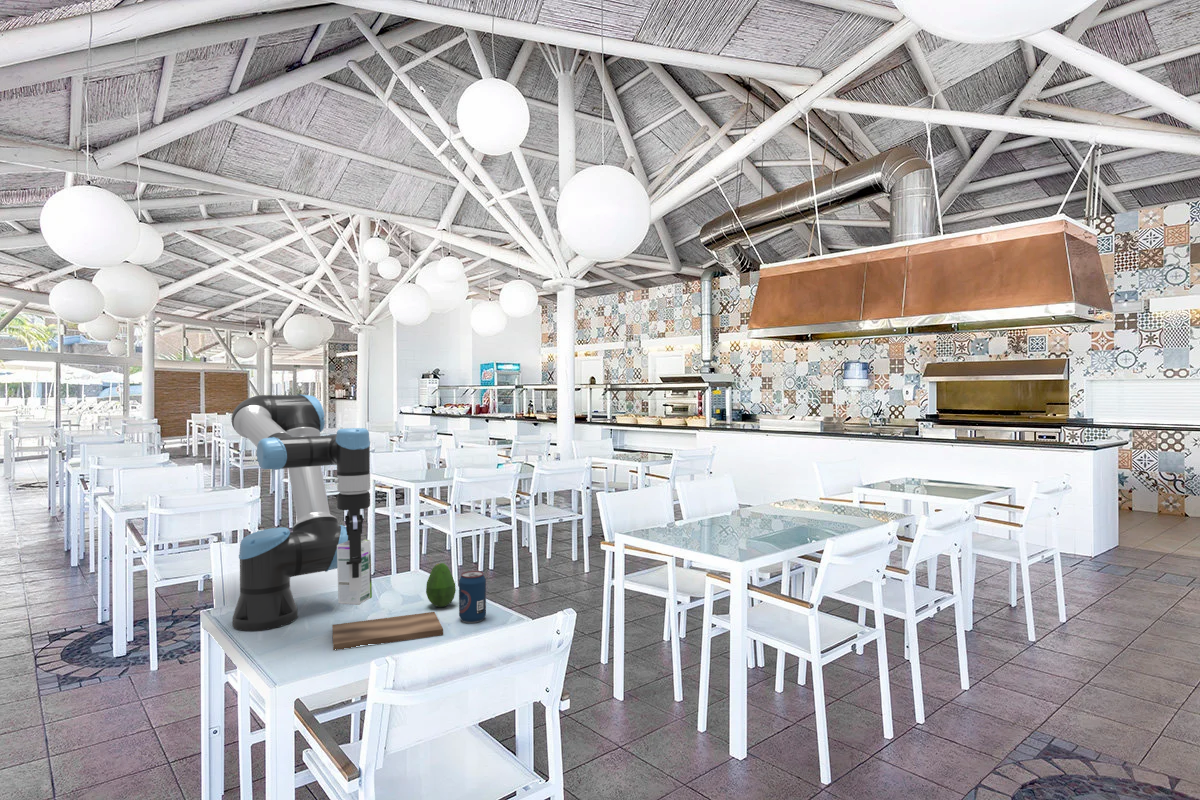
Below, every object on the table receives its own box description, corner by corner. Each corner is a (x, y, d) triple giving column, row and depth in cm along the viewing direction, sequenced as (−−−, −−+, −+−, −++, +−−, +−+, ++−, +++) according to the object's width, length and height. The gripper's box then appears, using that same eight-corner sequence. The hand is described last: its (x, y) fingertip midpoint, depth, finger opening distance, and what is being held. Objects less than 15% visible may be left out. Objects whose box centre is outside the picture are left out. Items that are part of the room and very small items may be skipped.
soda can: (453, 619, 174) (453, 573, 174) (476, 613, 179) (475, 568, 179) (469, 625, 169) (468, 578, 169) (491, 619, 174) (491, 573, 174)
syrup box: (359, 605, 158) (358, 544, 158) (337, 604, 159) (336, 543, 159) (372, 598, 163) (371, 539, 163) (350, 596, 164) (350, 538, 164)
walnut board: (332, 630, 166) (332, 624, 166) (434, 617, 175) (434, 611, 175) (333, 650, 153) (333, 644, 153) (443, 635, 162) (443, 628, 162)
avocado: (443, 600, 190) (443, 558, 190) (461, 605, 185) (460, 562, 185) (420, 607, 184) (419, 563, 184) (437, 613, 179) (437, 568, 179)
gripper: (336, 487, 169) (337, 577, 169) (337, 498, 150) (338, 599, 150) (367, 485, 172) (368, 574, 172) (372, 496, 153) (373, 595, 153)
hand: (354, 585), depth 161 cm, fingers closed on syrup box, 7 cm apart
